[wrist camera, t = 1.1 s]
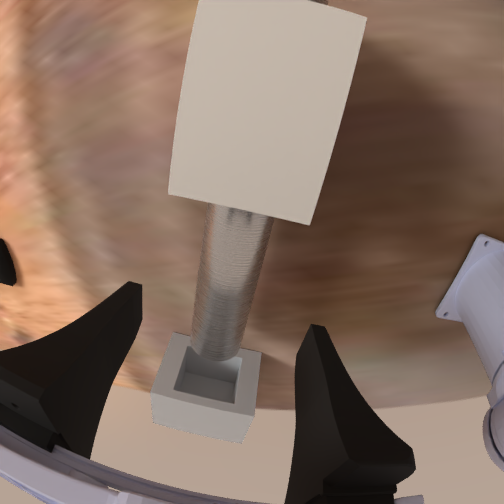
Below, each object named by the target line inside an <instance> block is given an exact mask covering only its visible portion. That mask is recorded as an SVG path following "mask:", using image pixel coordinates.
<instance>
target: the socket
mask: <svg viewBox="0 0 504 504" xmlns="http://www.w3.org/2000/svg"><path fill="white" fill-rule="evenodd" d="M190 338H191V336H187V335H183V334H179V333H175V332H173V334H172V336H171V339H170V341H169V344H168V347H167V349H166V352H165V354H164V357H163V360H162V362H161V365H160V368H159V370H158V373H157V375H156V378H155V381H154V383H153V386H152V389H151V392H150V394H151V405H152V415H153V423H155V424H159V425H163V426H166V427H170V428H174V429H177V430H181V431H185V432H189V433H193V434H197V435H202V436H207V437H211V438H215V439H220V440H225V441H230V442H236V443H242V442H243V440H244V437H245V435H246V433H247V431H248V429H249V427H250V424H251V422H252V420H253V418H254V414H255V406H256V397H257V389H258V380H259V371H260V362H261V353H262V352H257V351H252V350H247V349H243V348H240V349H239V351H238V353H237V354H236V355H235V356H234V357H233V358H231V359H229V360H226V361H221V362H216V361H210V360H207V359H204V358H202V357H201V356H199V355H198V354H197V353H196V352H195V351H194V350H193V348H192V346H191V342H190Z"/></svg>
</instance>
